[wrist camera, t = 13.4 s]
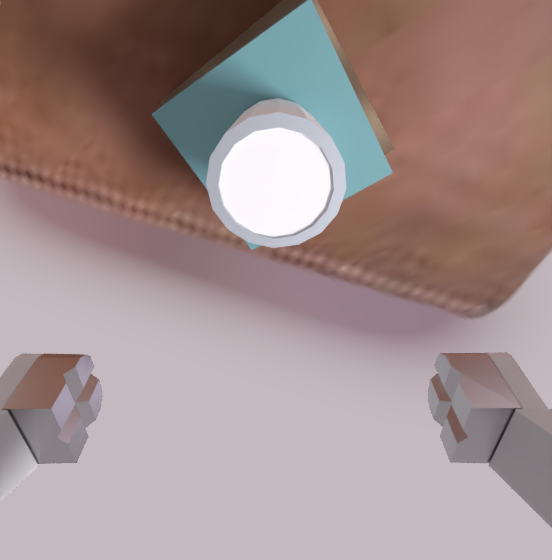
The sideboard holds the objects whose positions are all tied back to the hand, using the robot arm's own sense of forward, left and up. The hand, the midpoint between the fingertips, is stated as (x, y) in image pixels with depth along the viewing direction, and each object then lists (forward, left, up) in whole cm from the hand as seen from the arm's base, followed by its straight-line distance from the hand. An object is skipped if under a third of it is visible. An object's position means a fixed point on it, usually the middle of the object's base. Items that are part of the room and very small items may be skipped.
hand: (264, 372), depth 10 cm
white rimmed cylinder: (0, 0, -19) cm, 19 cm away
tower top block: (0, 0, -23) cm, 23 cm away
